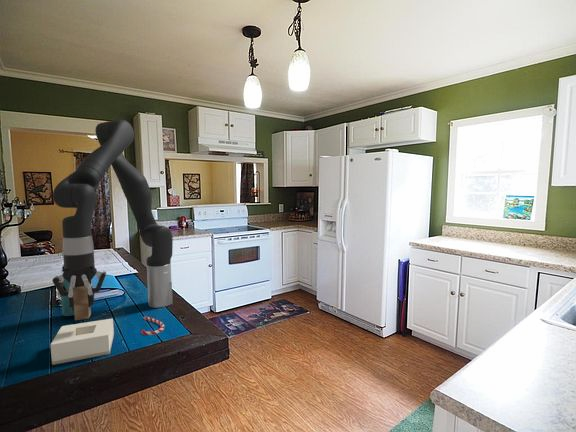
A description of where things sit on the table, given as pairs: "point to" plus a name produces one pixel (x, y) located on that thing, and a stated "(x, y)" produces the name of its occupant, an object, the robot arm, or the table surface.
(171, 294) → the robot arm
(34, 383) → the table surface
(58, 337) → the socket block
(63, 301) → the beverage bottle
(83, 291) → the peg
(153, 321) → the candy cane
